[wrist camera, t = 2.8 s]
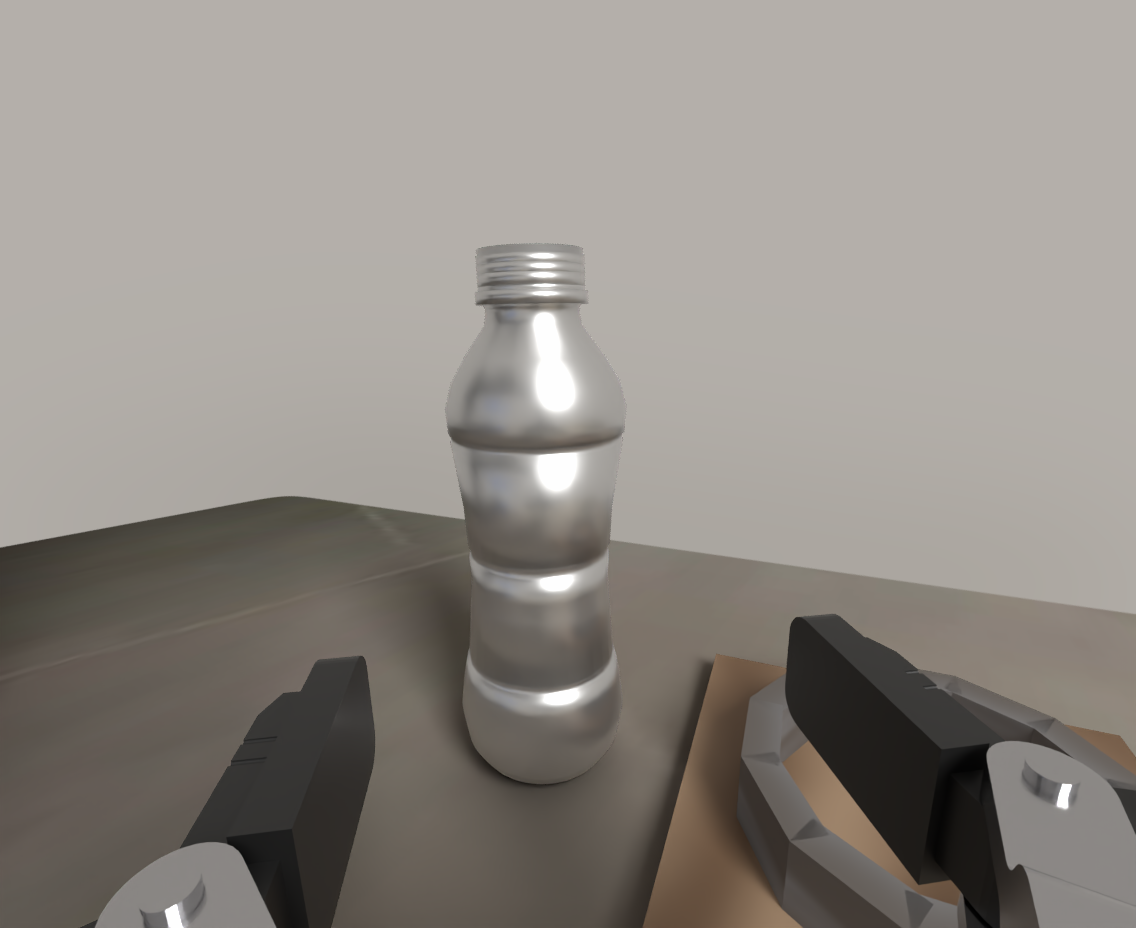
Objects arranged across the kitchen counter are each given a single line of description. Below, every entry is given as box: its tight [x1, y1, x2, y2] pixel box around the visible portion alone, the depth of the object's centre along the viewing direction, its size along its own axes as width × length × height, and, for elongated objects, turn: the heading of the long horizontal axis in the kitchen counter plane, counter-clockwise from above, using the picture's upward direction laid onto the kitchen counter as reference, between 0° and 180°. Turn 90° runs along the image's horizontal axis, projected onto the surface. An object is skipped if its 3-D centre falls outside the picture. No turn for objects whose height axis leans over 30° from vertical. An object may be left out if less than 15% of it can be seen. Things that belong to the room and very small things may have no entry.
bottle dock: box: [643, 654, 1136, 928], centre depth 19 cm, size 16×16×4 cm
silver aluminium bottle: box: [445, 244, 626, 784], centre depth 22 cm, size 6×7×20 cm
